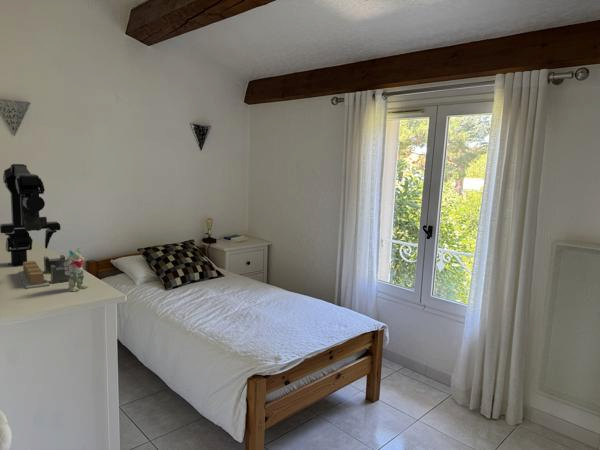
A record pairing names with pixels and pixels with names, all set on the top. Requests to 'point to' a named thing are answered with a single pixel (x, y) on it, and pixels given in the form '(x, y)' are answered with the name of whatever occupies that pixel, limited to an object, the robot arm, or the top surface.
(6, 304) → the top surface
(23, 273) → the pad
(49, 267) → the rack
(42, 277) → the rail
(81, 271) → the figurine
